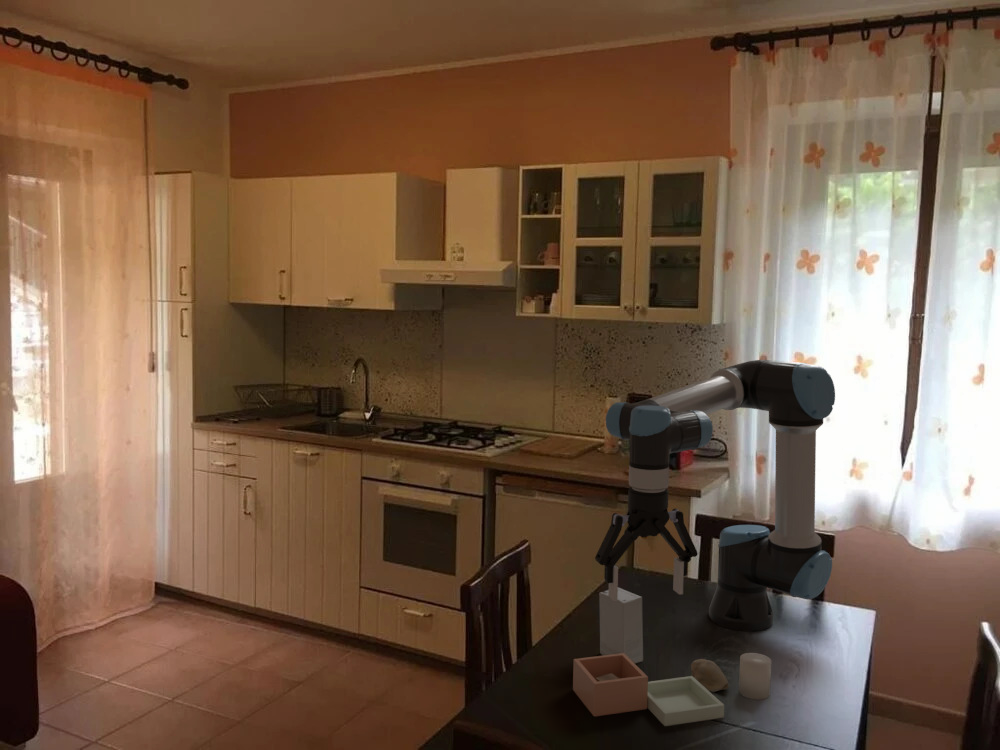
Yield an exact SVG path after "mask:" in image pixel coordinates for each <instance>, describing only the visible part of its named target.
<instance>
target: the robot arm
mask: <svg viewBox="0 0 1000 750" xmlns="http://www.w3.org/2000/svg"><path fill="white" fill-rule="evenodd" d="M835 401H836V389H835V384H834V380H833V378H832V377H831V374H829V373H828V371H827V370H826V369H825V368H824V367H822V366H820V365H816V364H809V363H806V362H796V361H782V360H781V361H780V360H769V359H757V360H748V361H746V362H741V363H736V364H733V365H730V366H728V367H724V368H722V369H718V370H716V371H715V372H713V373H712V375H711V376H710V377H709V378H706V379H703V380H700V381H697V382H694V383H691V384H687V385H685V386H682V387H680V388H677V389H673V390H671V391H668V392H664V393H661V394H659V395H656V396H654V397H650V398H647V399H644V400H641V401H638V402H633V403H630V402H627V401H625V402H622V401H621V402H620V401H618V402H615V403H613V404H612V405H611V406H610V407H609V408H608V409H607V412H606V414H605V428H606V430H607V432H608V433H609V434H610V435H611V436H613V437H616V438H619V439H622V440H623V441H624V440H625V441H629V459H628V460H629V461H628V462H629V463H628V485H629V486H630V487H629V488H628V491H627V493H628V496H627V508H628V511H627V514H618V513H617V512H614V513H612V515H611V522H610V526H609V528H608V530H607V532H606V534H605V536H604V538H603V540H602V542H601V545H600V546H599V548H598V551H597V552H596V555H595V557H594V559H595V561H596V562H597V563H598V564H599V565H600V566H603V567H604V574H603V575H604V581H605V582H606V583H607V584H608V589H607V590H608V596H609V597H610V598H611V599H612V600H613V601H617V597H618V587H619V567H618V566H617V565H616V564H617V563H618V561H619V560H620V559H621V557H622V556H623V555H624V554H625V553H626V551H627V550H628V549H629V548H630V547H631V545H632V544H633V542H635V541H637V539H638V538H639V537H641V538H646V537H657V536H658V535H660V536H661V537H662V538H663V539H664V540H665V542H666V543H667V544H668V545H669V546H670V548H671V549H672V551H674V553H675V554H676V555H677V557H673V577H672V578H673V580H672V586H673V587H672V590H673V591H674V592H675V593H676V594H678V595H684V577H687V575H688V567H689V566H688V563H690V562H691V560H692V558H693V557H694V558H696V557H697V556H698V554H699V553H698V551H697V549H696V546H695V544H694V541H693V540H692V537H691V535H690V533H689V530H688V529H687V527H686V524H685V521H684V520H685V519H684V513H683V511H681V510H679V509H677V508H673V509H672V510H670V511H668V507H669V490H668V487H670V485H669V483H670V482H669V481H670V454H674V453H681V452H686V451H687V452H688V451H690V450H691V451H694V450H697V449H699V448H702V447H705V446H706V445H708V444H709V443H710V442H711V440H712V437H713V433H714V432H713V431H714V428H713V423H712V420H711V418H710V417H709V416H708V415H709V414H712V413H715V412H717V411H720V410H724V411H733V410H736V409H740V408H741V409H742V408H743V409H752V410H759V411H766V412H768V424H770V425H771V426H772V427H773V428H774V430H775V468H774V469H775V475H774V476H775V477H774V478H775V481H774V482H775V483H774V484H775V486H774V487H775V492H774V494H775V495H774V496H775V497H774V498H775V501H774V504H775V505H774V515H775V516H774V517H775V518H774V521H775V522H774V529H773V530H772V531H770V529H769V528H768V527H767V526H763V525H760V524H759V525H758V524H738V525H731V526H728V527H724V528H723V529H722V530H721V531H720V534H719V540H718V545H717V546H718V561H717V562H718V563H717V586H716V589H715V591H714V594H713V597H712V599H711V602H710V604H709V608H708V617H709V618H710V620H711V621H712V622H713V623H715V624H717V625H719V626H721V627H724V628H726V629H731V630H735V631H736V630H737V631H742V632H744V631H745V632H755V631H764V630H766V629H768V628H770V627H771V626H772V625H773V621H774V618H773V617H774V613H773V609H772V605H771V602H770V598H769V595H768V591H767V589H771V590H774V591H776V592H780V593H783V594H786V595H789V596H791V597H793V598H800V599H804V600H813V599H815V598H817V597H818V596H819V595H821V593H822V592H823V591H824V589H825V588H826V586H827V584H828V582H829V581H830V577H831V574H832V570H833V559H832V557H831V555H830V553H828V552H827V551H826V550H822V538H821V537H820V535H818V533H816V532H815V522H816V521H815V517H816V515H815V514H816V458H817V457H816V455H817V454H816V451H817V450H816V447H817V446H816V445H817V441H816V440H817V430H818V429H819V428H821V426H823V424H824V419H826V418H827V417H828V416H830V415H831V413H832V412H833V408H834V407H833V406H835ZM669 520H670V521H671V522H672V523H673V525H674V527H675V530H676V531H677V533H678V536H679V538H680V540H681V543H682V545H683V547H684V549H685V550H684V549H683V547H682V546H681V545H680V543H679V542H678V541H677V540H676V539H675V537H674V536H673V535H672V534H671V532H670V531H669V530H668V528H667V527H666V525H667V523H668V522H669ZM626 523H627V524H628V526H627V527H626V528H625V530H624V532H623V535H621V537H620V539H618V537H619V536H620V533H621V531H622V527H625V524H626ZM617 540H618V541H617Z"/></svg>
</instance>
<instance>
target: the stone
mask: <svg viewBox="0 0 1000 750" xmlns="http://www.w3.org/2000/svg"><path fill="white" fill-rule="evenodd" d="M690 670H691V675H690V676H693V677H694V678H695V679H696V680H697V681H698V682H699V683H700V684H702V685H703V686H704V687H705V688H706V689H707V690H708V691H709V692H711V693H716V692H719V691H724V690H725V691H726V690H727V689H728V688H729V686H730V684H729V682H728V679H727V677H726V676H725V674H724V673H723V671H722V669H721V668H720V667H719V666H718V665H717V664H716V663H715V662H714V661H712V660H709V659H704V658H700V659H699V658H697V659H695V660H694V661H692V663H691V664H690Z"/></svg>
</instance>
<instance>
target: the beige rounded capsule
mask: <svg viewBox="0 0 1000 750" xmlns="http://www.w3.org/2000/svg"><path fill="white" fill-rule="evenodd" d="M771 672H772V659H771V658H770V657H768V656H766V655H765V654H761V653H756V652H745V653H743V654H741V655H740V657H739V676H738V679H739V680H738V693H739V694H740V695H741V696H742V697H745V698H747V699H752V700H756V701H757V700H758V701H759V700H760V701H761V700H766V699H768V698H770V695H771V675H772V674H771Z"/></svg>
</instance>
